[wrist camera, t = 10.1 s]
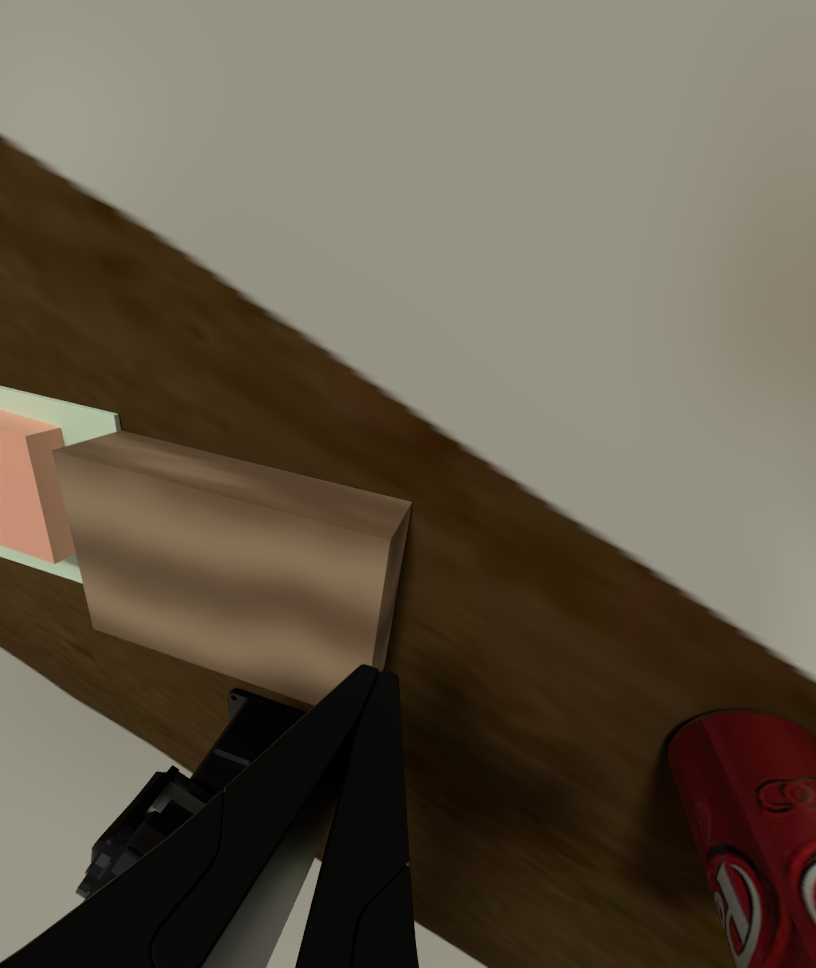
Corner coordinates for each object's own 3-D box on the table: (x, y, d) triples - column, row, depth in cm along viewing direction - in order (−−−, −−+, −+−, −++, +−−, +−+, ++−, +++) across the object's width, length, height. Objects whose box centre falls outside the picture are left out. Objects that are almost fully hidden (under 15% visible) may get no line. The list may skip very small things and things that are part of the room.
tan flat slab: (384, 666, 26) (363, 722, 22) (145, 590, 29) (93, 628, 25) (412, 502, 21) (390, 540, 17) (121, 430, 24) (51, 450, 20)
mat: (147, 601, 29) (144, 603, 29) (-5, 551, 32) (-9, 553, 31) (118, 413, 24) (114, 415, 23) (-66, 370, 26) (-72, 370, 26)
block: (-18, 538, 28) (15, 524, 29) (54, 564, 27) (83, 548, 28) (-58, 411, 24) (-18, 404, 26) (25, 436, 23) (60, 427, 25)
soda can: (714, 810, 24) (877, 1216, 13) (634, 731, 23) (736, 1093, 12) (855, 774, 21) (1222, 1269, 10) (768, 681, 20) (1062, 1107, 9)
